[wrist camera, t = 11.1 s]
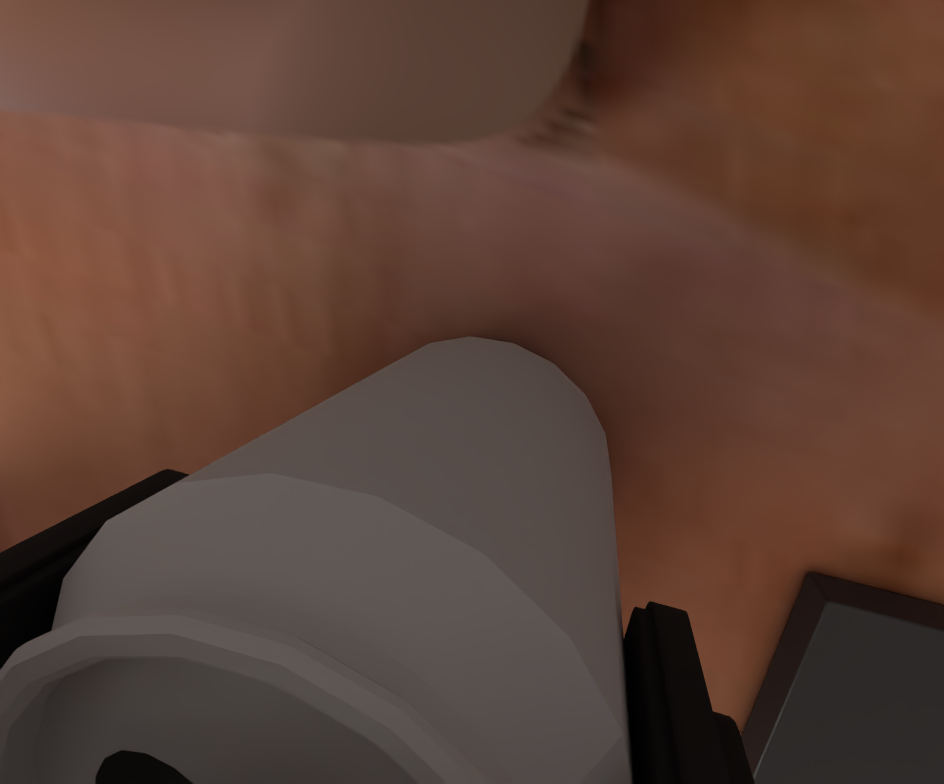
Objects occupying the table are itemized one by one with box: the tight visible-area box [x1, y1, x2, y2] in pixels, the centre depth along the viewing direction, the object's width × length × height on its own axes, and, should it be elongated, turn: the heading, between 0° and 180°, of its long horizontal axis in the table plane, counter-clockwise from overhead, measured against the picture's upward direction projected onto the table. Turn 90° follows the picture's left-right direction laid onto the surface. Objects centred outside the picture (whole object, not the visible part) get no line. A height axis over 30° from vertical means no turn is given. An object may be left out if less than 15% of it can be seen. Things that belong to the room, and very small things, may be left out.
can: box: [0, 336, 634, 784], centre depth 10 cm, size 8×8×12 cm
